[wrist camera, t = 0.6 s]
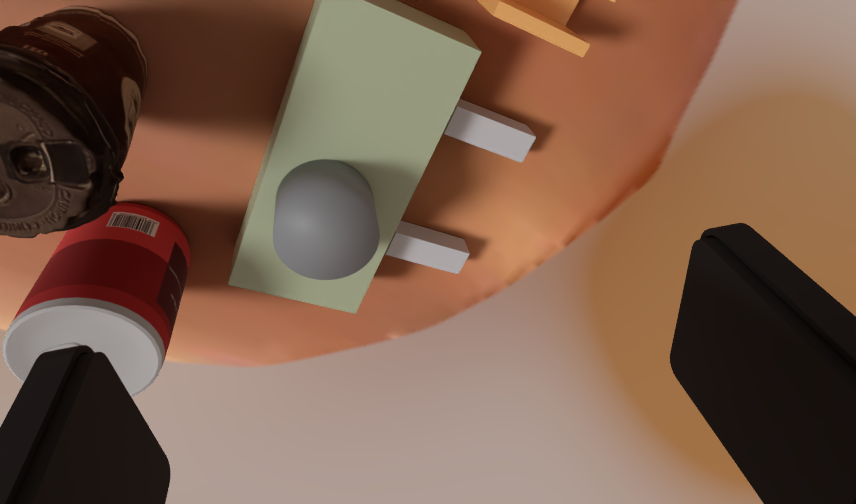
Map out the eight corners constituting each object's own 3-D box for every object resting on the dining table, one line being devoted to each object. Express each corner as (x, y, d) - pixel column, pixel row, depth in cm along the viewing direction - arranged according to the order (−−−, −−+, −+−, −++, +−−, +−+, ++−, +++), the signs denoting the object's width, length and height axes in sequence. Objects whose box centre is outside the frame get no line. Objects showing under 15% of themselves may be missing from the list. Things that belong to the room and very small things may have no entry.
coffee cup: (202, 62, 35) (157, 159, 24) (127, 159, 37) (57, 285, 27) (52, -52, 30) (-82, 8, 20) (-22, 68, 33) (-175, 176, 22)
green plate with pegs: (324, -32, 33) (329, 2, 26) (556, 71, 39) (609, 121, 32) (234, 247, 42) (220, 325, 36) (431, 296, 48) (452, 371, 41)
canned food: (42, 222, 39) (-35, 336, 30) (154, 181, 38) (108, 284, 30) (113, 302, 43) (63, 422, 34) (213, 267, 43) (189, 378, 34)
